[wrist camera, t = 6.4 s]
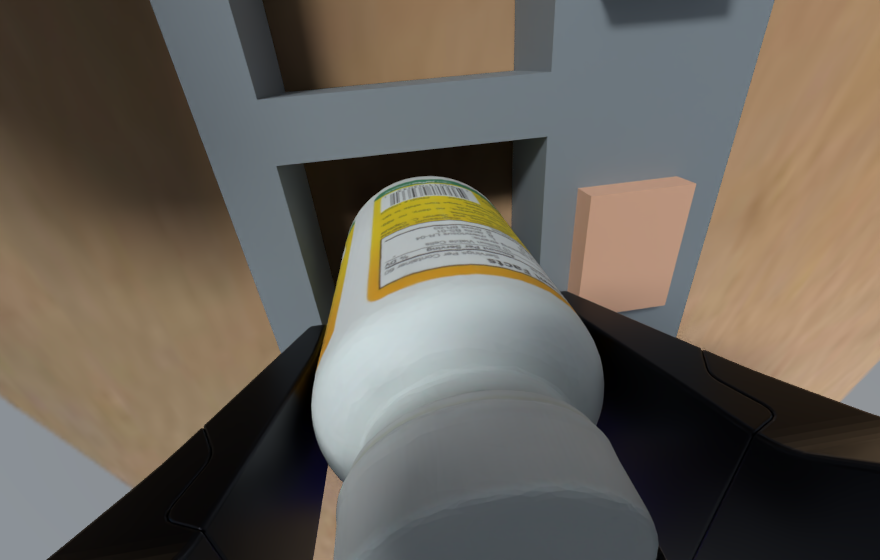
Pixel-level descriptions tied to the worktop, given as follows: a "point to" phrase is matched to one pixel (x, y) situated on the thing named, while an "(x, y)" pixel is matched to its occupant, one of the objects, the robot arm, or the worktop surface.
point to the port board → (492, 140)
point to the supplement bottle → (464, 395)
